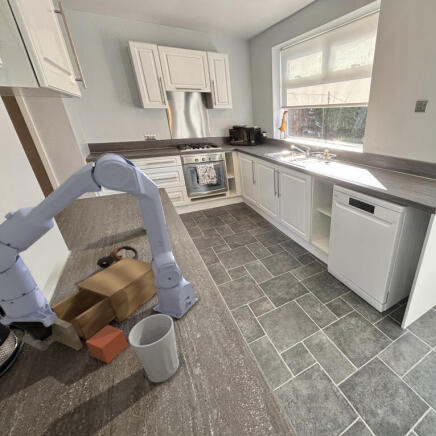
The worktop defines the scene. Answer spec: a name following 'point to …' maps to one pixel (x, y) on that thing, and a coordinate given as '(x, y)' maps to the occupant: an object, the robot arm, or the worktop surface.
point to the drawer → (76, 320)
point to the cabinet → (123, 285)
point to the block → (107, 343)
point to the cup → (156, 346)
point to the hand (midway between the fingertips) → (45, 337)
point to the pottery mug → (115, 257)
